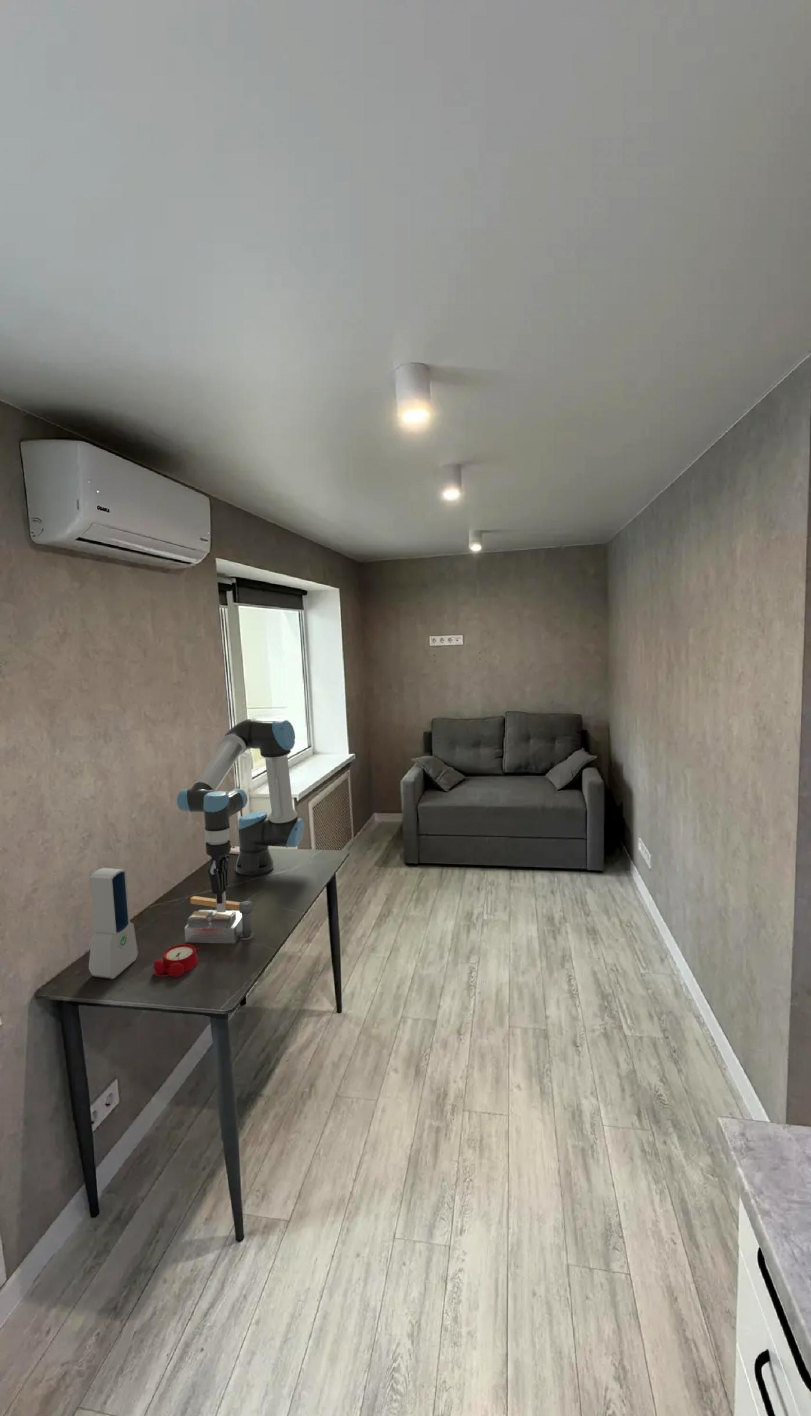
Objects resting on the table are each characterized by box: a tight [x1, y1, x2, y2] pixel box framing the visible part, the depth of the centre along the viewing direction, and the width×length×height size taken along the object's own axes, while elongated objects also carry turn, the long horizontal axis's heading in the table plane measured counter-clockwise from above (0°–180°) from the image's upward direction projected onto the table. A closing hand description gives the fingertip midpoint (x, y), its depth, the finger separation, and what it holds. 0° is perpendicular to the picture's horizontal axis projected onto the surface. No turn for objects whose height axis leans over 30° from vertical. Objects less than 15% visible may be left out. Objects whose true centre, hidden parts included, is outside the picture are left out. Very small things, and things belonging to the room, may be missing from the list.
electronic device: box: [88, 867, 139, 980], centre depth 176 cm, size 12×8×30 cm, turn 168°
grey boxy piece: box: [184, 909, 256, 945], centre depth 197 cm, size 12×21×7 cm, turn 86°
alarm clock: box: [153, 943, 203, 978], centre depth 178 cm, size 10×6×15 cm
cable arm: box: [189, 895, 253, 937], centre depth 197 cm, size 22×4×11 cm, turn 73°
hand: (221, 911), depth 195 cm, fingers closed
